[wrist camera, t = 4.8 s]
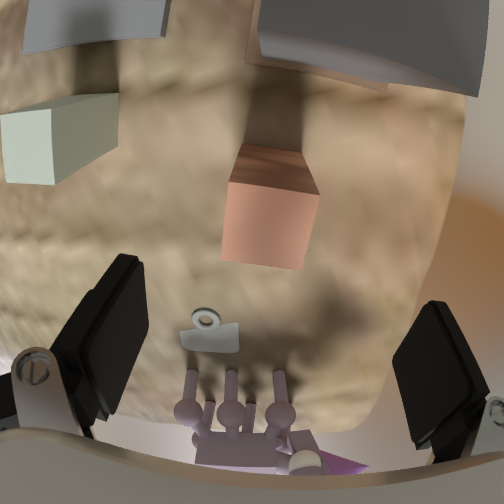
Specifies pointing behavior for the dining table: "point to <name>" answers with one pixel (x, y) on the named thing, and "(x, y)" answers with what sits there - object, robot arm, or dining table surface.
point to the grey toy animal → (255, 435)
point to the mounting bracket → (211, 334)
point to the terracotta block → (269, 208)
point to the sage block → (58, 137)
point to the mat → (91, 22)
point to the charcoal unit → (374, 41)
